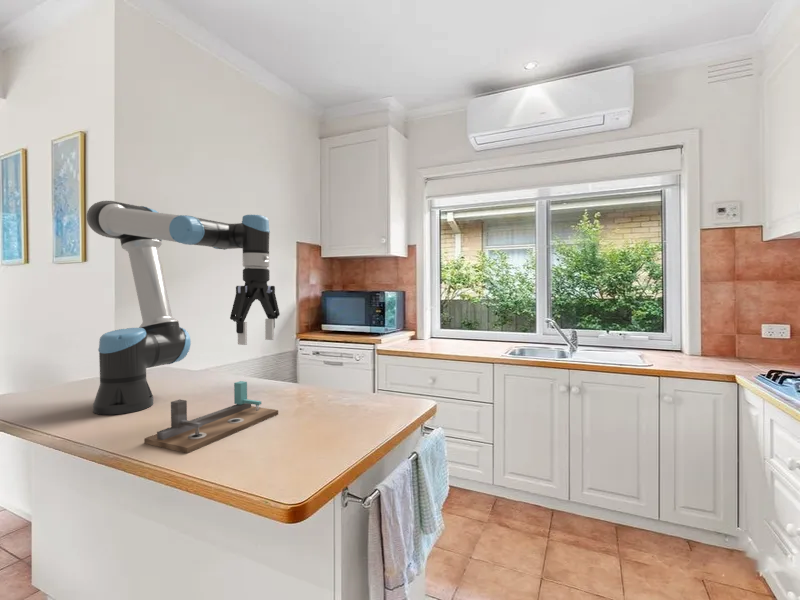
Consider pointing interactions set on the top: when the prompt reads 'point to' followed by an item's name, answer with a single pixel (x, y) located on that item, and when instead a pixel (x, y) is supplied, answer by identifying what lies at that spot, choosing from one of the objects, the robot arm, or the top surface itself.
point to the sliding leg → (243, 395)
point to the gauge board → (206, 426)
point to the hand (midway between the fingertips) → (256, 342)
